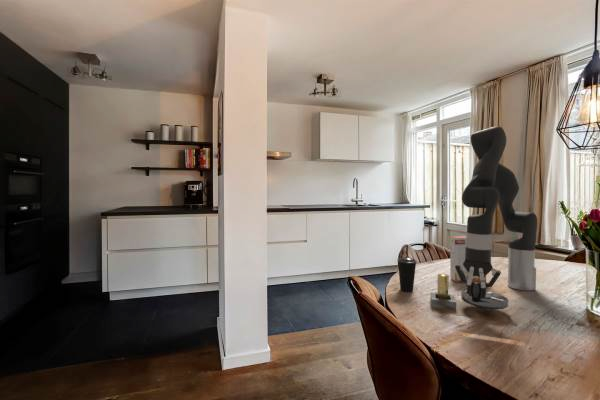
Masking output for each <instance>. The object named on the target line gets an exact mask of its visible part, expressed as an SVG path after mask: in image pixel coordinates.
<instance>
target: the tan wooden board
mask: <svg viewBox="0 0 600 400" xmlns="http://www.w3.org/2000/svg"><path fill="white" fill-rule="evenodd" d="M430 307H431V309H430V310H431V313H437V314H445V315H452V316H461V317H467V318H468V317H469V318H473V319H474V318H475V319H482V320H489V321H495V322H496V321H498V322H504V323H511V321H510V319H509V318H508V316H507V315H506V313H505V311H504V310H503V309H487V308H481V307H477V306H474V305H471V304H468V303H466V302H464V301H463V300H462V299H461V300H458V299H456V296H455V294H452V293H448V300H446V299H438V292H434V291H430Z"/></svg>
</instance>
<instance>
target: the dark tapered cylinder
mask: <svg viewBox="0 0 600 400" xmlns="http://www.w3.org/2000/svg"><path fill="white" fill-rule="evenodd" d="M417 262H418V261H417V260H416V259H415V258H413V257H410V256H409V245H408V244H407V245H406V246H405V256H403V257H400V258H398V259H397V264H398V276H399V287H400V291H402V292H405V293H412V292H414V285H415V274H416V265H417Z"/></svg>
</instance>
